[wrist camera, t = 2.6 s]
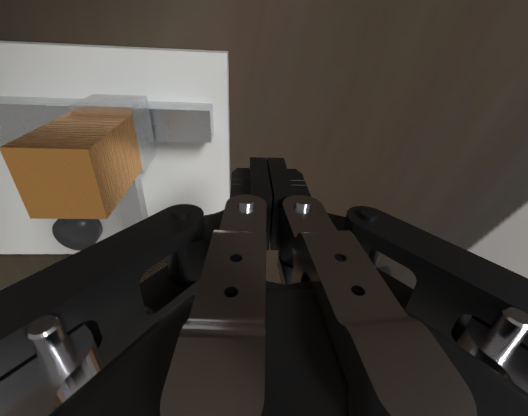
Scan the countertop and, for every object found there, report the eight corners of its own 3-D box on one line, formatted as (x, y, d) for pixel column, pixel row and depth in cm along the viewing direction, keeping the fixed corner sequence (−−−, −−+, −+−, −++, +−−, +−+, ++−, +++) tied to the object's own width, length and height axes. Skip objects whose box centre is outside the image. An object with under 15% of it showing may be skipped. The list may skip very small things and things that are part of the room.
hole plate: (-250, 28, 18) (-325, 29, 15) (228, 51, 19) (225, 55, 17) (-92, 242, 26) (-125, 264, 24) (231, 243, 28) (229, 263, 26)
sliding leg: (96, 92, 17) (-5, 139, 10) (149, 94, 18) (85, 141, 10) (132, 244, 23) (84, 340, 16) (171, 244, 23) (140, 339, 16)
